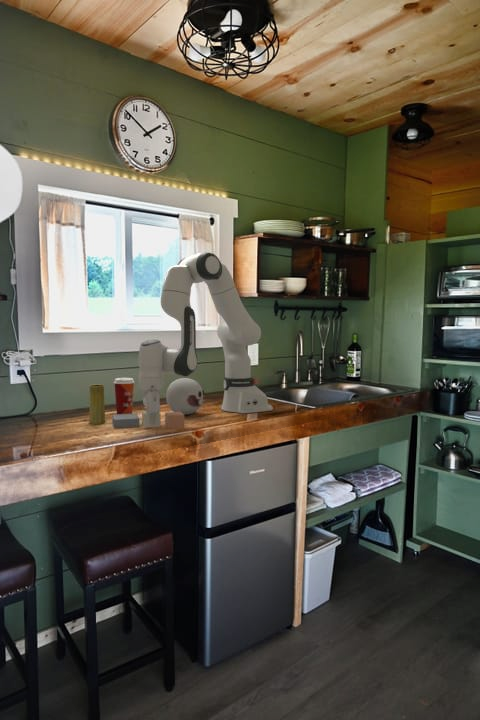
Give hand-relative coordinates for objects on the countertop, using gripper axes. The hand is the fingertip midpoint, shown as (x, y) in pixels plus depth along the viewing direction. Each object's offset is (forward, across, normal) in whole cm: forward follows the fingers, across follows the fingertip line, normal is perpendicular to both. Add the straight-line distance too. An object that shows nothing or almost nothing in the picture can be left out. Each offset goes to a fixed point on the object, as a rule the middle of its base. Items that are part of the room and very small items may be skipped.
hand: (151, 421), depth 184 cm
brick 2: (+2, -4, -8) cm, 9 cm away
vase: (+2, +10, +19) cm, 22 cm away
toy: (+2, +16, -16) cm, 23 cm away
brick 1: (+2, 0, 0) cm, 2 cm away
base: (+2, +4, +9) cm, 10 cm away
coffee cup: (+2, +20, +8) cm, 22 cm away
